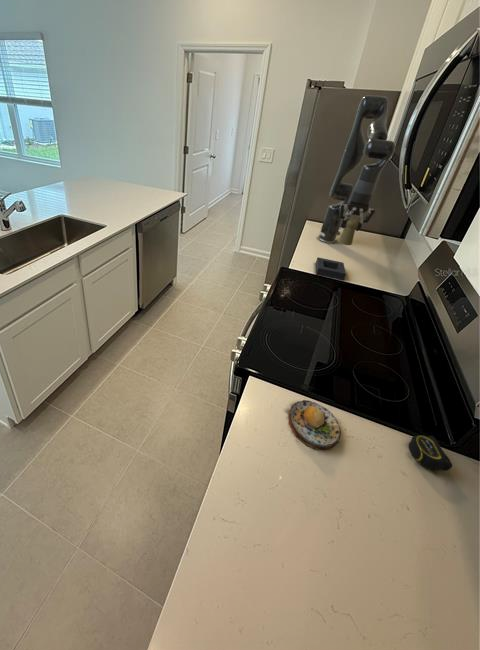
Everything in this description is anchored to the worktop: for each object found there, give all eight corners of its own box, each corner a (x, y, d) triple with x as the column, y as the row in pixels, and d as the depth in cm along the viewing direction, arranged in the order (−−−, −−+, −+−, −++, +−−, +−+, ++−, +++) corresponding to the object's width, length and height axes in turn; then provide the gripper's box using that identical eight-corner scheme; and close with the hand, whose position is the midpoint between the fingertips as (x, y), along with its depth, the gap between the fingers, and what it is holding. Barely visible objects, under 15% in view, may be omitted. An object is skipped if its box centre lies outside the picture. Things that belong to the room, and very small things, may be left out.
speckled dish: (348, 448, 70) (360, 428, 66) (301, 453, 68) (310, 433, 64) (321, 402, 80) (330, 383, 77) (279, 406, 78) (286, 386, 74)
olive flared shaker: (349, 240, 142) (357, 217, 136) (353, 245, 137) (363, 222, 131) (336, 238, 142) (344, 216, 137) (340, 244, 137) (348, 220, 131)
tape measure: (448, 474, 67) (457, 465, 65) (417, 471, 67) (425, 462, 65) (428, 443, 73) (436, 434, 71) (400, 441, 73) (407, 431, 71)
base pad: (315, 263, 152) (317, 257, 150) (341, 268, 149) (343, 262, 148) (316, 274, 142) (318, 267, 140) (343, 280, 139) (346, 273, 138)
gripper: (380, 192, 129) (365, 229, 138) (344, 186, 133) (331, 223, 141) (384, 196, 123) (368, 235, 132) (346, 190, 126) (333, 228, 135)
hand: (349, 229), depth 136 cm, fingers closed on olive flared shaker, 5 cm apart
